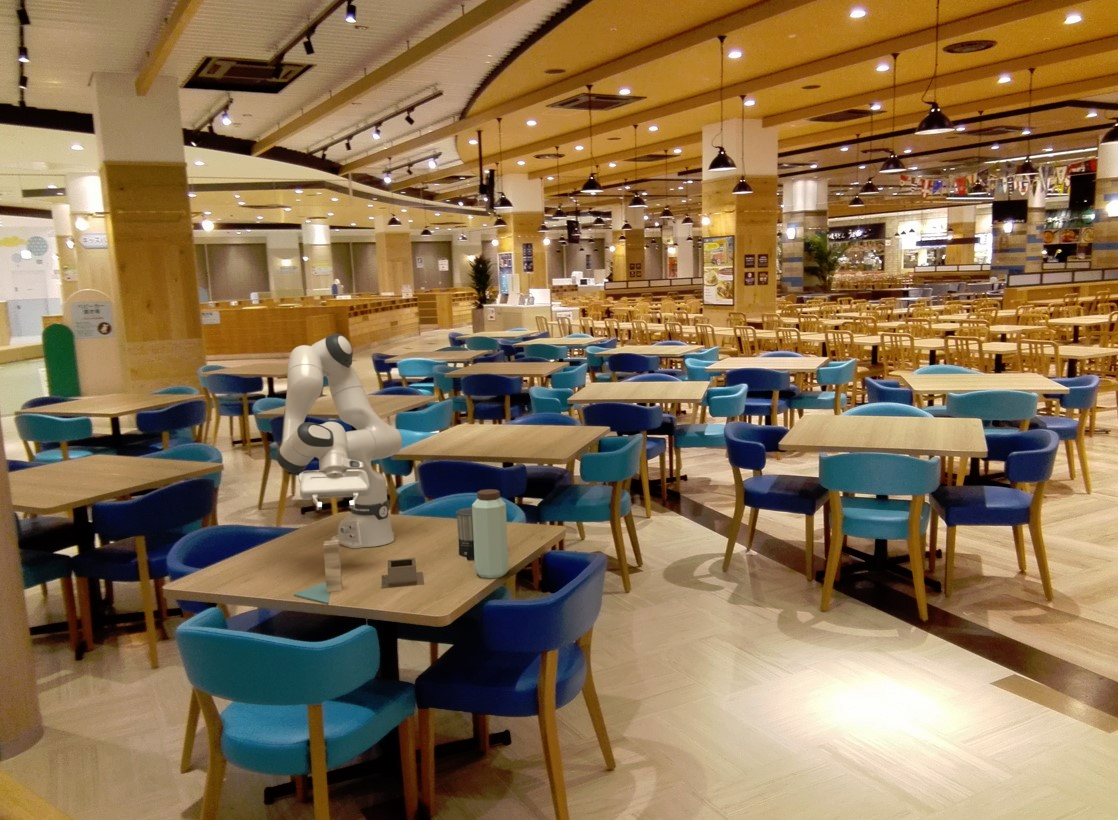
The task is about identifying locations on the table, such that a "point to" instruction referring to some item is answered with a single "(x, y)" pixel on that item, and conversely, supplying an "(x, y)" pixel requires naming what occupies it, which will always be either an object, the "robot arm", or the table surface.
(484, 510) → the water bottle
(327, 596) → the teal mat
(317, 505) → the robot arm
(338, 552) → the maple bar
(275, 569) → the table surface
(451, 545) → the table surface
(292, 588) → the table surface
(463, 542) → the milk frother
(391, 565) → the tan hollow square block
